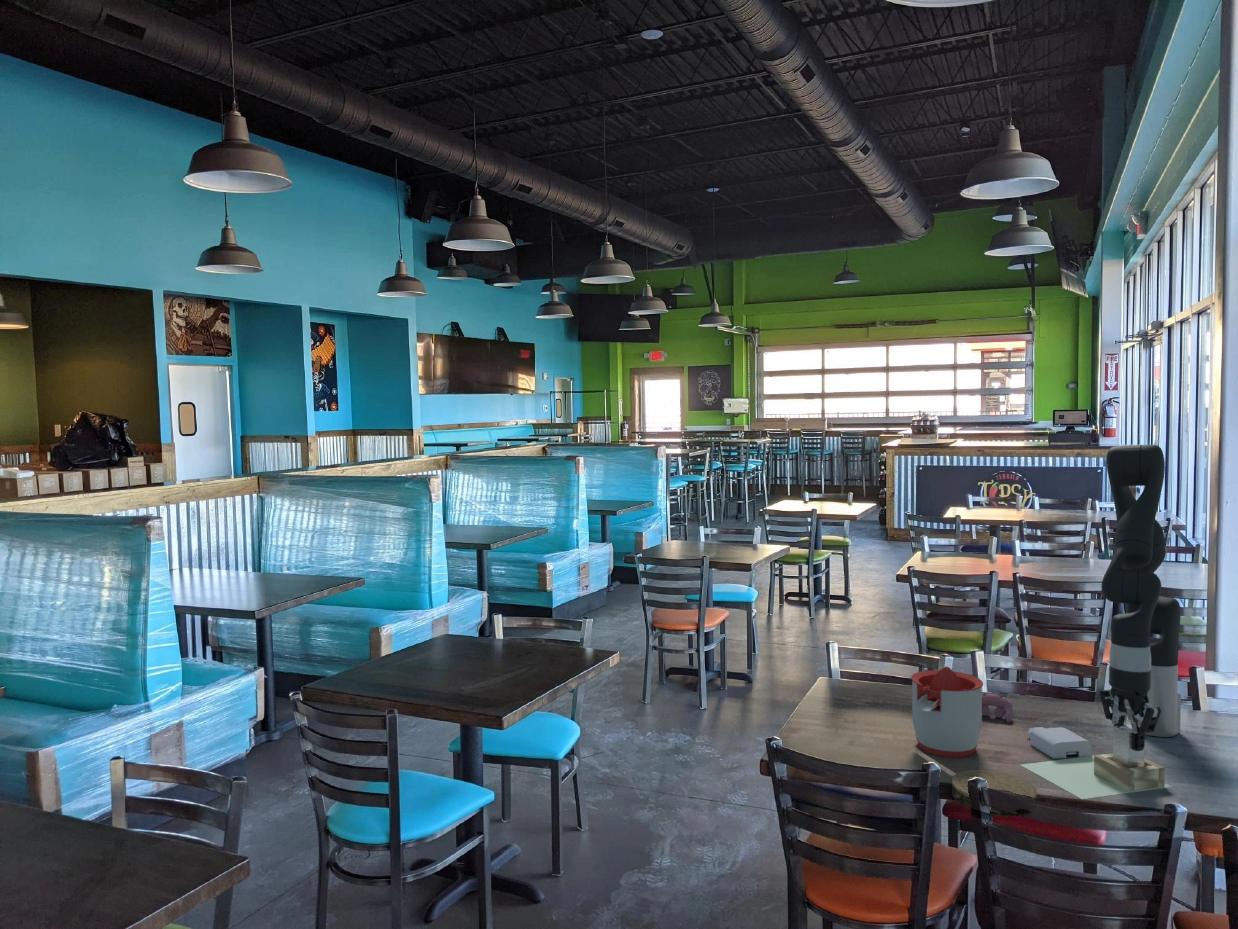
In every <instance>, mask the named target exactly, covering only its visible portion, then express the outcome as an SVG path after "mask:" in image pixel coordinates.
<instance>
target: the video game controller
mask: <svg viewBox="0 0 1238 929" xmlns="http://www.w3.org/2000/svg"><path fill="white" fill-rule="evenodd" d="M989 706H991V707H996V708H994V711H993V714H994V716H995V717H996V718H997V719H1002V718H1003V717H1004V716H1005V721H1006V723H1007V724H1009V723H1010V722H1011V721H1012V717H1013V712H1014V711H1013V710H1014V706H1013V703H1012V701H1011V700H1009V699H1008V698H1007V697H1004V696H1002V695H1000V694H996V693H982V716H985V717H988V716H990V715H991V708H989Z"/></svg>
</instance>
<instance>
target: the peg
mask: <svg viewBox="0 0 1238 929" xmlns="http://www.w3.org/2000/svg"><path fill="white" fill-rule="evenodd" d="M1112 727H1113V728H1112V753H1113V761H1114V762H1116V763H1118V764H1120V765H1122V766H1124V767H1126V768H1128V769H1129V768H1137V767H1144V758H1145V748H1144V749H1143V750H1142V751H1134V750H1133V749H1132V733H1133V730H1132V725H1131V723H1128V724H1124V725H1118V726H1114V725H1113V726H1112Z"/></svg>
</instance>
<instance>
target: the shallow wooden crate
mask: <svg viewBox="0 0 1238 929" xmlns="http://www.w3.org/2000/svg"><path fill="white" fill-rule="evenodd" d="M1093 756H1094V755H1093ZM1165 769H1166V768H1165V766H1162V765H1160V764H1158V763H1155V762H1154V761H1151V760H1149V759H1148V758H1145V757H1144V767H1137V768H1129V769H1128V768H1126V767H1124V766H1122V765H1120V764H1118V763H1116V762H1114V761H1113V752H1112V753H1106V754H1104V755H1102V754H1096V756H1094V774H1095V775H1097V776H1099V777H1100V778H1102V779H1104V780H1106V781H1108V782H1110V783H1112V784H1114V785H1116V786H1118V787H1120V788H1122V789H1124V790H1126V791H1135V790H1143V789H1150V788H1157V787H1164V783H1165V778H1166V777H1165V775H1166V774H1165V771H1166V770H1165Z"/></svg>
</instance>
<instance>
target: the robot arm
mask: <svg viewBox="0 0 1238 929" xmlns="http://www.w3.org/2000/svg"><path fill="white" fill-rule="evenodd" d="M1105 461H1106V462H1105V463H1106V471H1107V476H1108V481H1109V482H1108V483H1109V485H1110V486H1109V487H1110V490H1111V494H1112V499H1113V504H1114V510H1115V517H1116V527H1115V534H1114V547H1113V554H1112V558H1111V560H1110V563H1109V565H1108V567H1107V569H1106V571H1105V572H1104V576H1103V577H1102V581H1101V586H1100V587H1101V588H1100V589H1101V592H1102V595H1103V596H1104V598H1105V600H1107V601H1108V602H1111V603H1114V604H1115V603H1116V604H1125V606H1126V613H1119V614H1116V615H1115V614H1114V615H1113V616H1112V618H1111V621H1110V622H1111V623H1110V646H1109V654H1108V655H1109V656H1108V657H1109V658H1108V684H1109V685H1110V687H1111V688H1110V689H1101V690H1100V691H1099V696H1100V701H1101V704H1102V708H1103V709H1102V710H1103V712H1104V717H1105V718H1106V719H1107V720H1110V721H1111V724H1112V725H1113V726H1118V725H1126V722H1127V719H1128V722H1130V725H1132V730H1133V733H1132V749H1133V750H1134V751H1142V750H1143V749H1144V750H1145V747H1146V746H1145V745H1146V744H1145V741H1146V735H1147V736H1152V737H1157V738H1158V737H1161V738H1170V737H1171V738H1172V737H1175V736H1177V735H1178V734H1180V733H1181V718H1182V717H1181V714H1182V713H1181V710H1182V709H1181V707H1182V705H1181V704H1182V696H1181V694H1180V693H1179V692H1178V691H1179V690H1178V689H1179V688H1178V687H1179V686H1178V682H1179V680H1178V679H1179V649H1180V648H1179V647H1180V646H1179V645H1180V639H1179V638H1180V629H1181V628H1180V627H1181V613H1182V612H1181V610H1182V609H1181V606H1180V603H1179V601H1178V599H1176V598H1173V597H1168V596H1167V597H1166V596H1161V593H1162V582H1161V580H1160V578H1159V576H1158V575H1157V574H1156V571H1157V570H1158V569H1159V568H1160V566H1161V565H1162V563H1164V561H1165V558H1166V554H1167V552H1166V543H1165V542H1166V540H1165V535H1164V534H1165V532H1164V530H1163V529H1164V528H1163V527H1162V526H1161V524H1160V522H1159V521H1158V520H1157V519H1156V518H1157V517H1156V516H1157V512H1158V510H1159V506H1160V505H1159V504H1160V500H1161V495H1162V490H1163V486H1164V480H1165V472H1166V465H1165V464H1166V462H1165V455H1164V452H1163V450H1162V448H1161V447H1160V445H1157V444H1134V445H1133V444H1131V445H1117V446H1112V447H1110V448H1109V449H1108V451H1107V454H1106V460H1105ZM1143 486H1144V488H1143V491H1142V492H1141V494H1140V495H1139V497H1138V498H1137V499H1136V497H1135V495H1133V493H1132V490H1131V488H1130V487H1143ZM1151 635H1160V636H1161V639H1160V640H1159V641H1157V642H1155V643H1151Z"/></svg>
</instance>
